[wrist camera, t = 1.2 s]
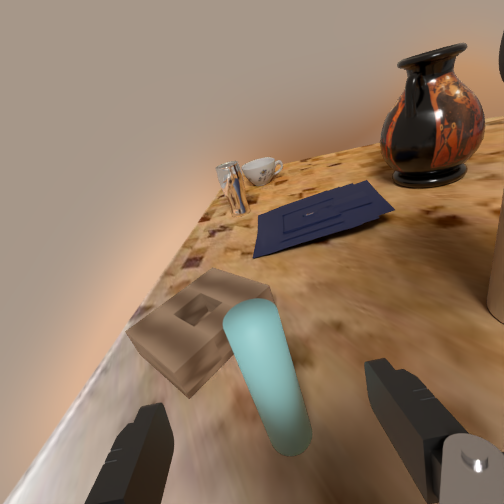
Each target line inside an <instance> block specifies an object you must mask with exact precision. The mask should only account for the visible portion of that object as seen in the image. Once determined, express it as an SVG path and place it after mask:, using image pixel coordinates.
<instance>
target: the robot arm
mask: <svg viewBox="0 0 504 504" xmlns="http://www.w3.org/2000/svg"><path fill="white" fill-rule="evenodd" d="M499 70H500V74H501V78H502V80H503V82H504V33H503V36H502V40H501V45H500V51H499ZM487 307H488V309H489V311H490V312H491V313H492V315H493V316H494V317H495V318H497V319H498V320H499V321H500V322H502V323H504V190H503V197H502V204H501V211H500V217H499V224H498V230H497V237H496V243H495V250H494V256H493V263H492V269H491V275H490V281H489V288H488V294H487ZM364 366H365V374H366V382H367V390H368V397H369V401H370V404H371V407H372V409H373V411H374V413H375V415H376V417H377V419H378V420H379V422H380V424H381V425H382V427H383V429H384V431H385V432H386V434H387V436H388V437H389V439H390V441H391V442H392V444H393V446H394V448H395V449H396V451H397V453H398V454H399V456H400V458H401V460H402V461H403V463H404V465H405V466H406V468H407V470H408V472H409V473H410V475H411V477H412V478H413V480H414V482H415V484H416V485H417V487H418V489H419V490H420V492H421V494H422V495H423V497H424V499H425V501H426V502H427V504H433V503H438V502H439V504H504V452H501V451H500V450H499V449H498V448H497V447H495V446H494V445H493V444H491V443H490V442H488V441H487V440H485V439H483V438H480V437H478V436H475V435H471V434H469V433H468V432H467V431H466V430H465V429H464V428H463V427H462V425H461V424H460V423H459V422H458V421H457V420H456V419H455V418H454V417H453V416H452V415H451V413H450V412H449V411H448V410H447V409H446V408H445V407H444V406H443V405H442V404H441V403H440V401H439V400H438V399H437V398H435V396H434V395H433V394H432V393H431V392H430V391H429V389H428V390H427V387H426V386H425V385H424V384H423V383H422V382H421V381H420V380H419V378H418V377H416V376H415V375H413V374H411V373H410V372H408V371H406V370H404V369H400V370H395V369H394V368H393V367H392V365H391V364H390V363H389V362H388V361H387V360H386V359H385V358H381V359H376V360H371V361H366V362H365V365H364ZM173 452H174V437H173V432H172V429H171V426H170V423H169V420H168V417H167V414H166V411H165V408H164V405H163V404H162V403H156V404H151V405H146V406H142V407H141V408H140V409H139V411H138V414H137V416H136V418H135V420H134V423H129V424H127V426H126V427H125V428H124V429H123V430H122V431H121V432H120V434H119V435H118V436H117V438H116V440H115V442H114V444H113V446H112V448H111V452H110V453H109V454H108V456H107V458H106V460H105V464H103V466H102V468H101V471H100V473H99V475H98V477H97V479H96V481H95V483H94V485H93V487H92V489H91V491H90V493H89V495H88V497H87V499H86V501H85V503H84V504H161V501H162V497H163V493H164V488H165V484H166V480H167V476H168V472H169V468H170V464H171V460H172V456H173Z"/></svg>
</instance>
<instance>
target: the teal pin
mask: <svg viewBox="0 0 504 504" xmlns="http://www.w3.org/2000/svg"><path fill="white" fill-rule="evenodd" d="M223 329H224V331H225V334H226V336H227V338H228V341H229V343H230V346H231V348H232V350H233V353H234V355H235V358H236V360H237V362H238V365H239V367H240V369H241V372H242V374H243V377H244V379H245V381H246V384H247V386H248V389H249V391H250V393H251V396H252V398H253V400H254V403H255V405H256V408H257V410H258V412H259V415H260V417H261V420H262V422H263V424H264V427H265V429H266V431H267V434H268V436H269V439H270V441H271V443H272V445H273V447H274V448H275V450H276V451H277V452H279V453H280V454H282V455H285V456H296V455H299V454H301V453H302V452H304V451H305V450H306V449H307V447H308V446H309V444H310V442H311V439H312V428H311V425H310V421H309V418H308V414H307V411H306V407H305V404H304V400H303V397H302V393H301V390H300V386H299V383H298V380H297V376H296V373H295V369H294V366H293V362H292V359H291V355H290V352H289V348H288V345H287V341H286V338H285V334H284V331H283V328H282V324H281V321H280V317H279V314H278V310H277V307H276V306H275V304H274V303H272V302H271V301H269V300H266V299H261V298H255V299H249V300H245V301H243V302H241V303H239V304H237V305H235V306H234V307H232V308H231V309H230V310H229V311H228V312H227V314H226V315H225V317H224V319H223Z"/></svg>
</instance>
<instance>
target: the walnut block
mask: <svg viewBox="0 0 504 504" xmlns="http://www.w3.org/2000/svg"><path fill="white" fill-rule="evenodd" d="M255 298H261V299H266V300H269V301H271V302H272V303H274V300H273V296H272V293H271V290H270V286H269V285H266V284H263V283H260V282H256V281H253V280H250V279H247V278H244V277H241V276H238V275H235V274H232V273H228V272H225V271H222V270H219V269H216V268H211V269H210V270H209V271H207V272H206V273H204V274H203V275H202V276H200V277H199V278H198V279H196V280H195V281H194V282H192V283H191V284H189V285H188V286H187V287H185V288H184V289H183V290H181V291H180V292H179V293H177V294H176V295H174V296H173V297H172V298H170V299H169V300H168V301H166V302H165V303H164V304H162V305H161V306H159V307H158V308H157V309H155V310H154V311H153V312H151V313H150V314H149V315H147V316H146V317H145V318H143V319H142V320H140V321H139V322H138V323H136V324H135V325H134V326H132V327H131V328H130V329H128V330H127V331H125V332H126V333H127V335H128V337H129V338H130V340H131V341H132V343H133V344H134V346H135V348H136V349H137V351H138V352H139V354H140V355H141V356H142V357H143V358H144V359H146V360H147V361H148V362H149V363H150V364H151V365H152V366H153V367H154V368H156V369H157V370H158V371H159V372H160V373H161V374H162V375H163V376H164V377H165V378H167V379H168V380H169V381H170V382H171V383H172V384H173V385H174V386H175V387H177V388H178V389H179V390H180V391H181V392H182V393H183V394H184V395H185V396H186V397H188V398H189V399H190V398H191V397H192V396H193V395H194V394H195V393H196V392H197V391H198V390H199V389H200V388H201V387H202V386H203V385H204V384H205V383H206V382H207V381H208V380H209V379H210V378H211V377H212V376H213V375H214V374H215V372H216V371H217V370H218V369H219V368H220V367H221V366H222V365H223V364H224V363H225V362H226V361H227V360H228V359H229V358H230V357H231V356H232V355H233V354H234V353H233V350H232V348H231V346H230V343H229V341H228V338H227V336H226V334H225V331H224V329H223V319H224V317H225V315H226V314H227V312H228V311H229V310H230V309H231V308H232V307H234V306H235V305H237V304H239V303H241V302H243V301H245V300H249V299H255ZM274 304H275V303H274Z"/></svg>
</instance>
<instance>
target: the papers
mask: <svg viewBox="0 0 504 504" xmlns="http://www.w3.org/2000/svg"><path fill="white" fill-rule="evenodd" d="M394 210H395V209H394V208H393V207H392V206H391V205H390V204H389V203H388V202H387V201H386V200H385V199H384V198H383V197H382V196H381V195H380V194H379V193H378V192H377V191H376V190H375V189H374V188H373V187H372V185H371V184H370V183H369V182H368V181H367V180H366V181H363V182H360V183H357V184H353V183H352V184H349V185H346V186H343V187H338V188H335V189H332V190H329V191H324V192H321V193H318V194H316V195H313V196H310V197H307V198H304V199H301V200H298V201H296V202H293V203H290V204H287V205H284V206H281V207H279V208H277V209H274V210H271V211H269V212H267V213H264V214H261V215H259V216H258V234H257V239H256V244H255V249H254V254H253V258H256V257H260V256H263V255H267V254H270V253H273V252H276V251H279V250H282V249H284V248H287V247H291V246H294V245H297V244H300V243H303V242H307V241H310V240H313V239H316V238H319V237H322V236H326V235H329V234H332V233H335V232H338V231H342V230H343V231H344V230H347V229H350V228H353V227H356V226H359V225H362V223H365V222H368V221H372V220H375V219H378V218H380V217H379V215H382V214H385V213H388V212H391V211H394Z"/></svg>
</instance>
